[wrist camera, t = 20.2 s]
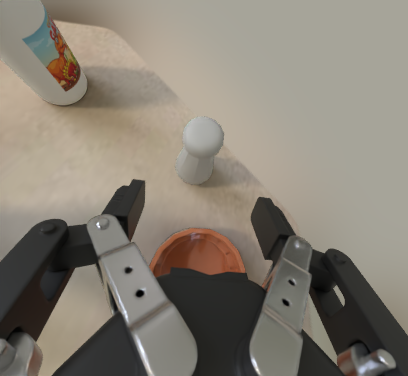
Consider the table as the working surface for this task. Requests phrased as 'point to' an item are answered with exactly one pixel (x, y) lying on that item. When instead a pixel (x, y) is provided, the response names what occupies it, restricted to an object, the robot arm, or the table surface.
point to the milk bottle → (39, 52)
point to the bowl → (197, 253)
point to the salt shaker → (199, 150)
